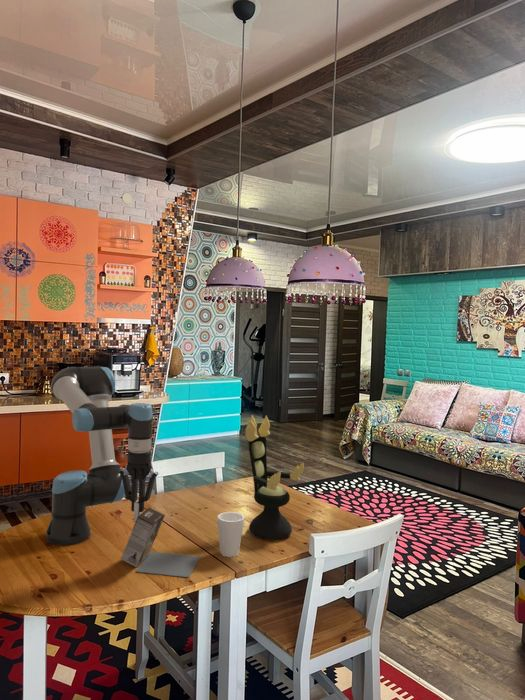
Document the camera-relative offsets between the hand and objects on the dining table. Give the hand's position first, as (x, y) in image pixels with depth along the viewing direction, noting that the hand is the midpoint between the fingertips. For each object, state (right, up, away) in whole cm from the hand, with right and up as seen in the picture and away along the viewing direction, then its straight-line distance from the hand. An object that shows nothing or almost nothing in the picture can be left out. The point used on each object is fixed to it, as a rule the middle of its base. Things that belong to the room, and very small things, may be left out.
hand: (137, 521), depth 172 cm
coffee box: (-1, -13, +1) cm, 13 cm away
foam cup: (+30, -15, +10) cm, 35 cm away
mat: (+11, -14, 0) cm, 18 cm away
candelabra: (+43, -15, +31) cm, 55 cm away
